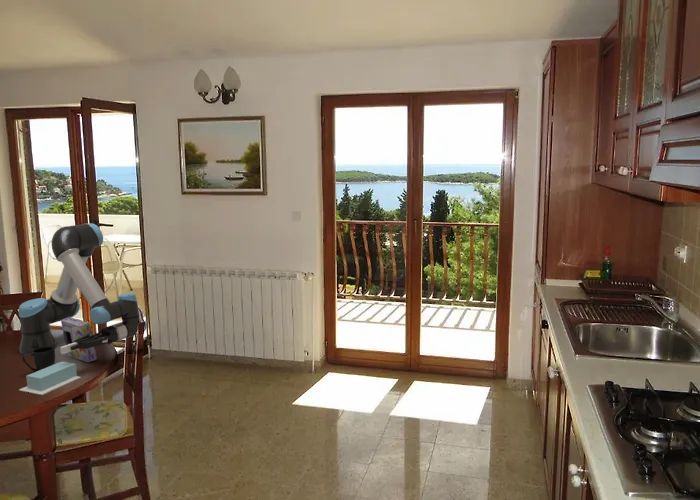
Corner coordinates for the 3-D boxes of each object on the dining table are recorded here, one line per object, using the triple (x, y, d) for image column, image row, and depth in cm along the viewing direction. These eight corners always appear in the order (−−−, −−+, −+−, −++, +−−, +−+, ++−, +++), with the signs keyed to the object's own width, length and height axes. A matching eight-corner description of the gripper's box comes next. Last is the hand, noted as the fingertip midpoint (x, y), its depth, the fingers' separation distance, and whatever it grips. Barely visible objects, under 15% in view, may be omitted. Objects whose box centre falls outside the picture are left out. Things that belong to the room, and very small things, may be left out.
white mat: (19, 390, 213) (18, 389, 213) (58, 373, 229) (58, 373, 229) (42, 395, 208) (41, 394, 208) (80, 377, 224) (80, 376, 224)
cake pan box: (65, 355, 251) (59, 318, 248) (76, 351, 255) (70, 315, 251) (86, 364, 240) (80, 325, 236) (97, 360, 243) (91, 322, 240)
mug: (23, 372, 232) (20, 350, 230) (55, 365, 238) (52, 344, 237) (25, 378, 225) (22, 356, 224) (58, 371, 232) (55, 350, 230)
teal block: (62, 372, 229) (27, 387, 214) (61, 361, 228) (26, 375, 214) (77, 375, 226) (42, 390, 211) (75, 363, 225) (40, 378, 211)
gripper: (123, 344, 240) (72, 362, 220) (105, 339, 247) (53, 356, 227) (121, 327, 238) (69, 344, 219) (103, 323, 245) (51, 339, 226)
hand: (61, 350), depth 223 cm, fingers closed
